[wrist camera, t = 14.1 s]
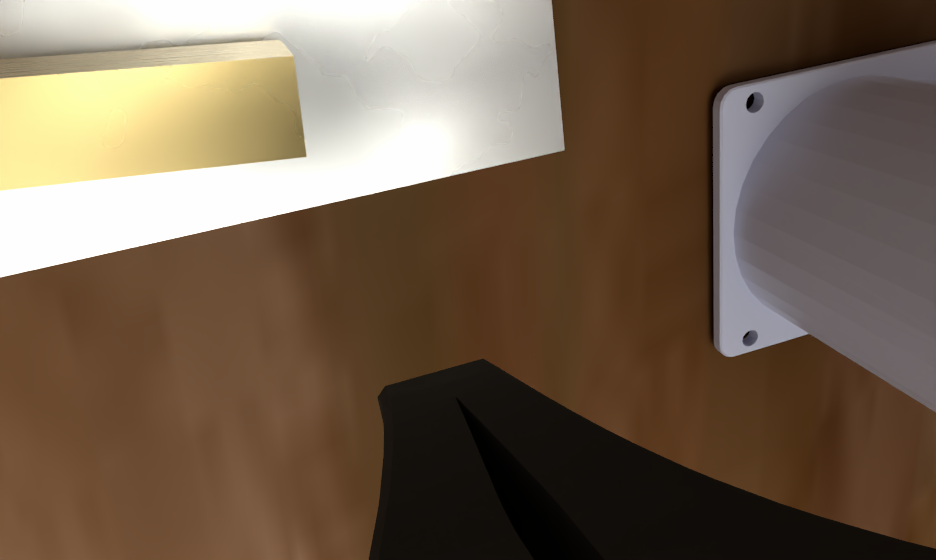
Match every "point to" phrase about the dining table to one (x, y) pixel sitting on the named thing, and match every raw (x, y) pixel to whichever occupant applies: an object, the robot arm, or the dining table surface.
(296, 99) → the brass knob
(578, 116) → the dining table surface
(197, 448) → the dining table surface
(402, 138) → the levelling plate
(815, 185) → the robot arm
